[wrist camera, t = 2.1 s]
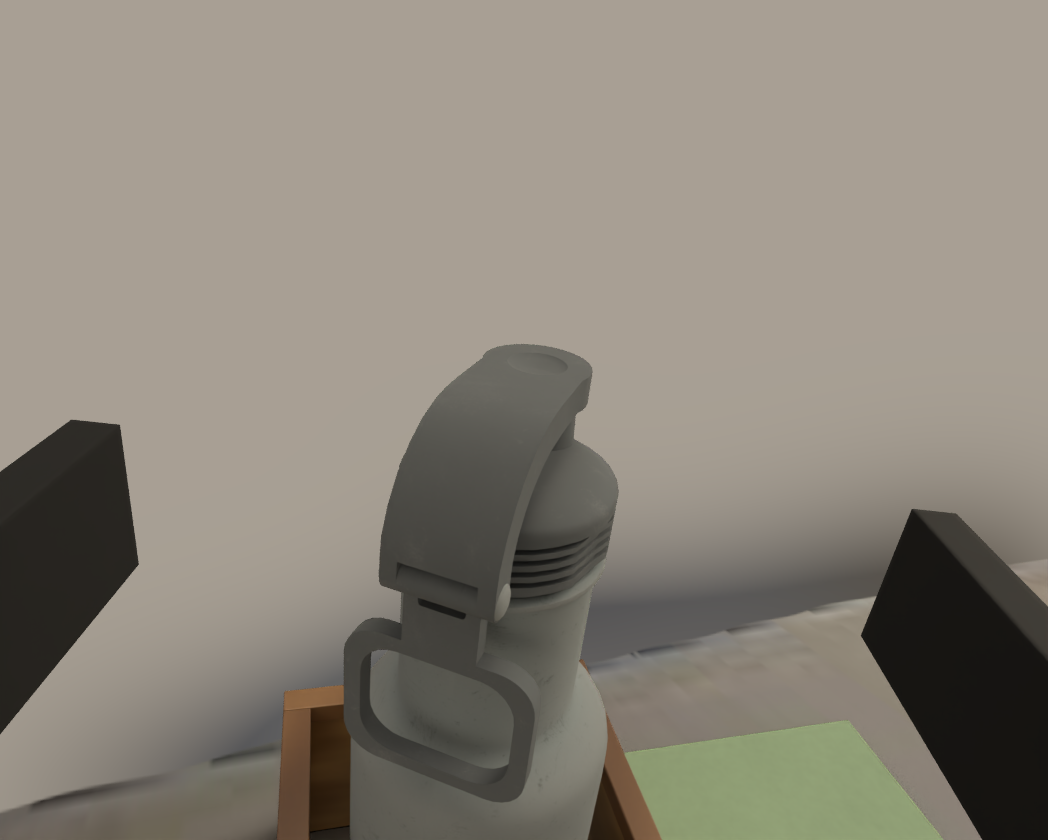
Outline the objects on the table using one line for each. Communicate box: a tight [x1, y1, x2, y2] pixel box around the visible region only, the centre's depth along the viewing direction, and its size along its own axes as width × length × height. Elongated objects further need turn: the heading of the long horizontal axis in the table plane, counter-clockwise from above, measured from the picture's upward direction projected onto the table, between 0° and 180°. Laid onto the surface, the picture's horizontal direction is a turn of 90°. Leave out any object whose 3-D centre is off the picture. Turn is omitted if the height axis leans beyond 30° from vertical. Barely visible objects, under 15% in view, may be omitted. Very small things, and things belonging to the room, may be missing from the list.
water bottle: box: [344, 344, 618, 840], centre depth 27 cm, size 10×10×28 cm
